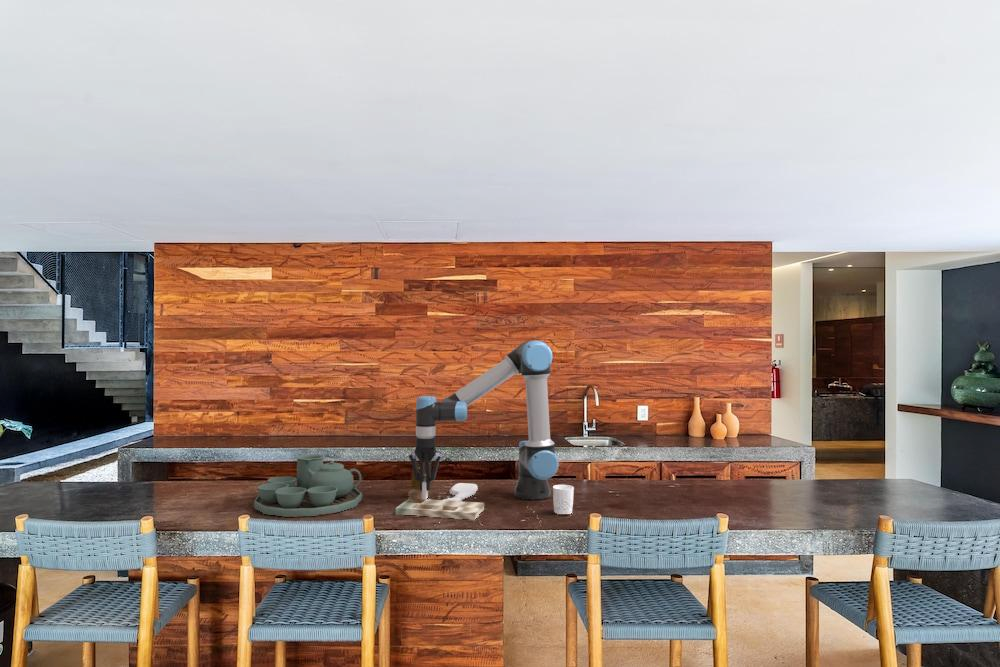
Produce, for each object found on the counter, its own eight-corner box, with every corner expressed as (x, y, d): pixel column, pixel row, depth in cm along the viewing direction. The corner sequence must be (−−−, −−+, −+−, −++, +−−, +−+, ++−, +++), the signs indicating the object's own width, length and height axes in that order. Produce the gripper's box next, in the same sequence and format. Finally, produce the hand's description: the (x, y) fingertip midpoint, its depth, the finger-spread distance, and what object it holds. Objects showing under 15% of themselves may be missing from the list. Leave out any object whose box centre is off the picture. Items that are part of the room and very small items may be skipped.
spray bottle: (479, 490, 266) (466, 506, 242) (455, 489, 268) (439, 504, 244) (479, 483, 266) (466, 498, 242) (455, 482, 268) (439, 497, 244)
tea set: (235, 505, 237) (236, 462, 238) (326, 488, 267) (327, 450, 267) (288, 526, 211) (288, 478, 211) (382, 504, 241) (383, 462, 241)
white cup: (568, 518, 224) (568, 490, 224) (548, 514, 228) (549, 487, 228) (577, 513, 231) (577, 486, 231) (558, 509, 235) (558, 483, 235)
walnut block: (425, 500, 237) (425, 489, 237) (421, 503, 232) (421, 492, 232) (412, 499, 238) (413, 489, 238) (408, 502, 233) (408, 492, 233)
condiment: (421, 494, 257) (421, 465, 258) (432, 498, 251) (432, 468, 251) (406, 496, 253) (406, 467, 253) (417, 500, 246) (417, 470, 246)
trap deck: (484, 509, 234) (484, 502, 234) (475, 520, 219) (475, 513, 219) (409, 504, 240) (409, 498, 240) (395, 514, 225) (395, 508, 225)
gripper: (444, 436, 237) (444, 497, 237) (412, 434, 240) (412, 495, 240) (439, 439, 230) (438, 502, 230) (406, 437, 233) (405, 500, 232)
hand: (424, 498), depth 235 cm, fingers closed
